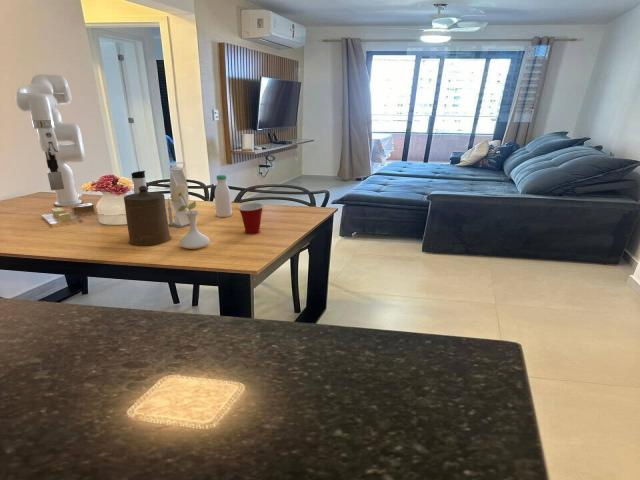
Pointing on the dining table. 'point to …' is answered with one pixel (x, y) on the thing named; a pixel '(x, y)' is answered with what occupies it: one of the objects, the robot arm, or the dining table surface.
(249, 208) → the plastic cup
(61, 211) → the butter
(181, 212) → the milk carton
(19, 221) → the dining table surface
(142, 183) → the travel mug
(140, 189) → the wooden container
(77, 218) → the board
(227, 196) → the milk bottle
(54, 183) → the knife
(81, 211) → the knife block
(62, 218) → the butter slice
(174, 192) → the flower in vase
